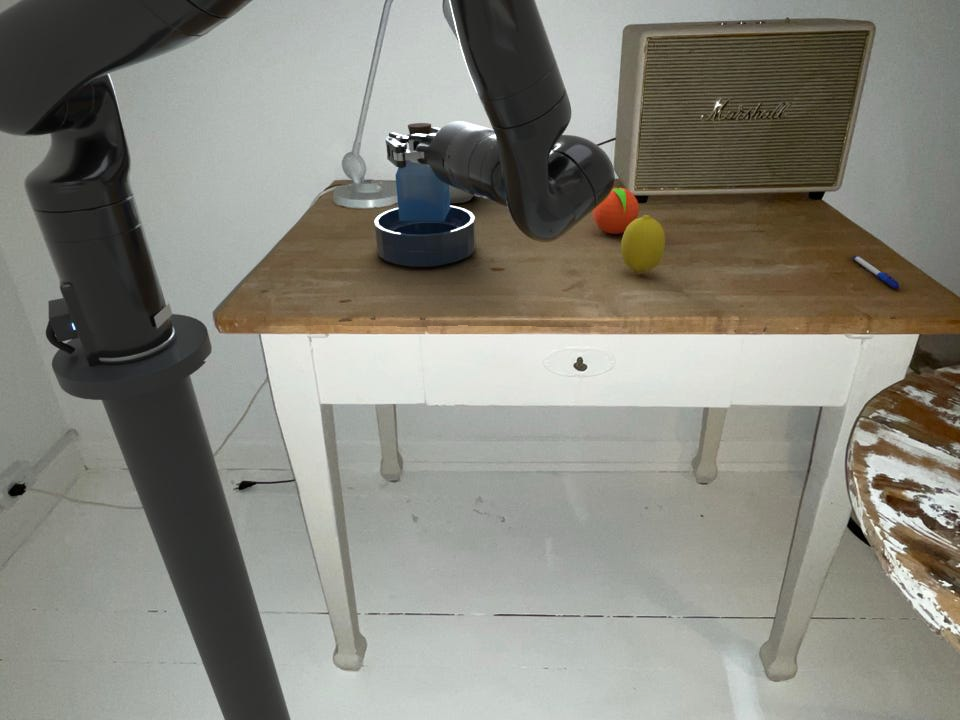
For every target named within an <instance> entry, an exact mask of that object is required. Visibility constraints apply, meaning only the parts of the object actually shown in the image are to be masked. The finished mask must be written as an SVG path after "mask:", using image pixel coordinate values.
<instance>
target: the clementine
mask: <svg viewBox="0 0 960 720" xmlns="http://www.w3.org/2000/svg"><path fill="white" fill-rule="evenodd" d="M639 213H640V206H639V201H638V199H637V198H636V196H635V195H634V194H633V193H632V192H631V191H630V190H628V189H627V188H624V187H619V186H617V187H613V188H612V190H611V192H610V194H609V196H608V197H607V198H606V199H605V200H604V201H603V202H602V203H601V204H600V205H599V206H597V207H596V208H595V209H594V210H592V217H593V219H594V222H595V224H596V225H597V227H598V228H599V229H600V230H602V231H603V232H605V233H607V234H611V235H618V234H624V232H625V230H626V228H627V226H628V225H629V224H630V223H631V222H632V221H634V220H635V219H638V218H639Z"/></svg>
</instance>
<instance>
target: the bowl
mask: <svg viewBox="0 0 960 720" xmlns="http://www.w3.org/2000/svg"><path fill="white" fill-rule="evenodd" d="M373 226H374V235H375V244H376V245H375V246H376V251H377V256H379V257H380V258H381V259H382V260H384V261H386V262H388V263H391V264H394V265H400V266H406V267H414V268H431V267H440V266H445V265H448V264H449V265H450V264H454V263H457V262H459V261H462V260H464V259H466V258H469V257H470V256H471V255H472V254H473V253H475V250H476V247H477V243H476V242H477V241H476V240H477V239H476V237H477V236H476V216H475V214H474V213H473V212H472V211H470V210H468V209H466V208H463V207H460V206H456V205H450V210H449V212H448V214H447V216H446V218H445V220H444V221H399V210H398V207H395V208H392V209H389V210H386V211H384V212H381V213H380V214H379V215H377V216H376V217H375V219H374V220H373Z"/></svg>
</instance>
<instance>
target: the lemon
mask: <svg viewBox="0 0 960 720" xmlns="http://www.w3.org/2000/svg"><path fill="white" fill-rule="evenodd" d="M622 234H623V235H622V238H621V241H620V242H621V243H620V253H621V258H622V260H623V262H624V264H625V265H626V266H627V267H628V268H629V269H631V270H633V271H634V272H635V273H636V274H637V275H642V274H644V273H645V272H648V271H651V270H652V269H654V268H655V267H657V266H658V265H659V263H660V262H661V260H662V259H663V257H664V253H665V250H666V234H665V230H664V227H663V226H662V224H661V223H660V222H659V221H658V220H656V219H654V218H653V217H651V216H650V215H648V214H644V215H642V216H641V217H637V219H635V220H634V221H632V222H631V223H630V224H629V225H628V226H627V228H626V230H625V232H623V233H622Z"/></svg>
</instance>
